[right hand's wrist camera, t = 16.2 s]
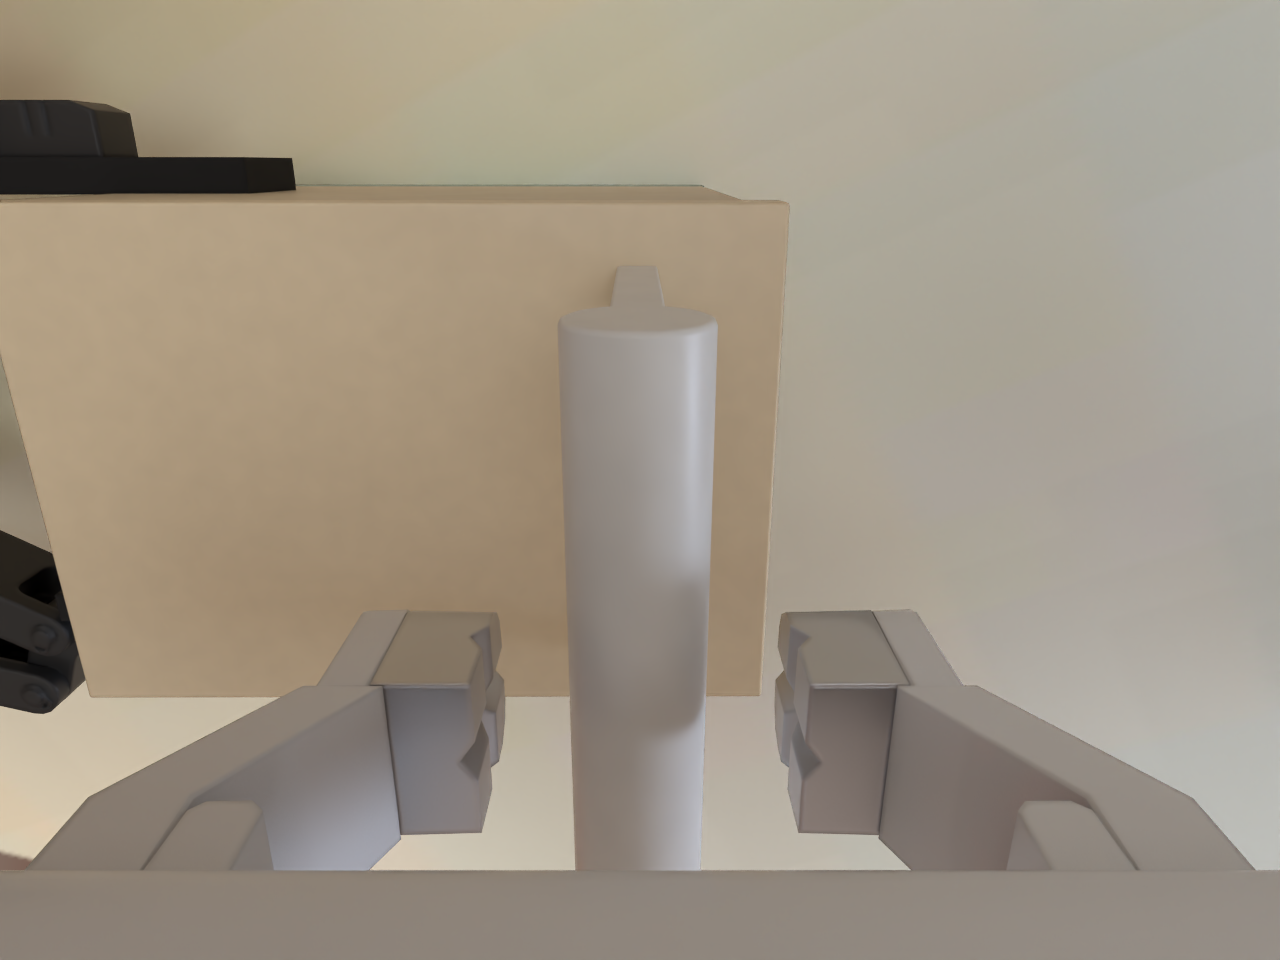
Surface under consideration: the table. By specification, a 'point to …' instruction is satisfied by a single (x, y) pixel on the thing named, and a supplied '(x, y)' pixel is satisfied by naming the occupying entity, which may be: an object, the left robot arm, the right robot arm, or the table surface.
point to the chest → (444, 193)
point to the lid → (416, 453)
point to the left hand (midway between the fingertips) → (302, 396)
